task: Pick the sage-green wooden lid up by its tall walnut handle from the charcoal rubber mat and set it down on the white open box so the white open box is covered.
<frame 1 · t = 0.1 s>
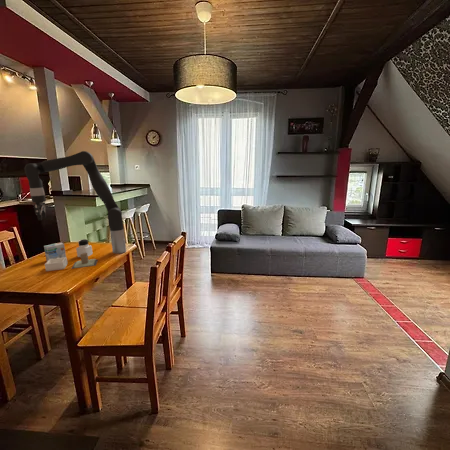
hand: (42, 219, 169), 29 cm above the table, fingers open, 8 cm apart
light bulb box: (56, 259, 177), on the table
medicine bottle: (85, 256, 183), on the table
lid: (85, 263, 166), resting on mat
white open box: (57, 267, 161), on the table
mat: (85, 264, 166), on the table
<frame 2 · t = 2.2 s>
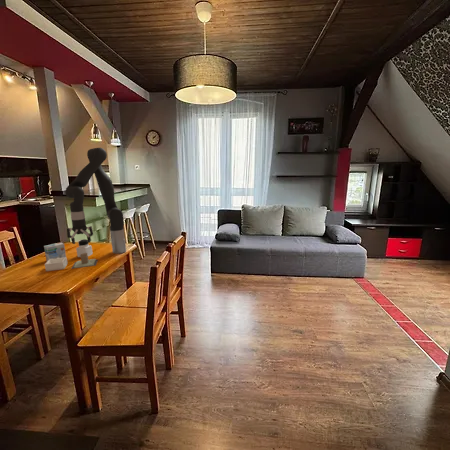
hand: (81, 243, 163), 15 cm above the table, fingers open, 8 cm apart
nothing on the table moved.
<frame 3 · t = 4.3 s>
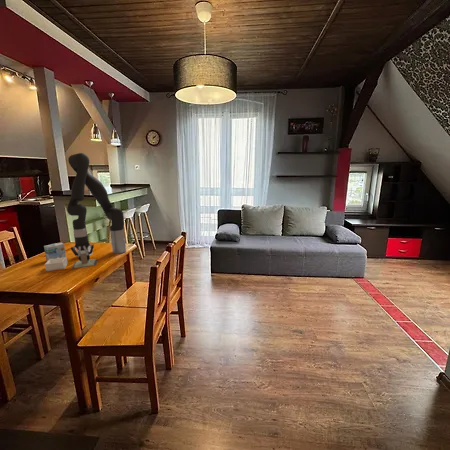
hand: (84, 260, 166), 3 cm above the table, fingers closed on lid, 3 cm apart
lid: (85, 263, 166), resting on mat, touching gripper
everything else where it was.
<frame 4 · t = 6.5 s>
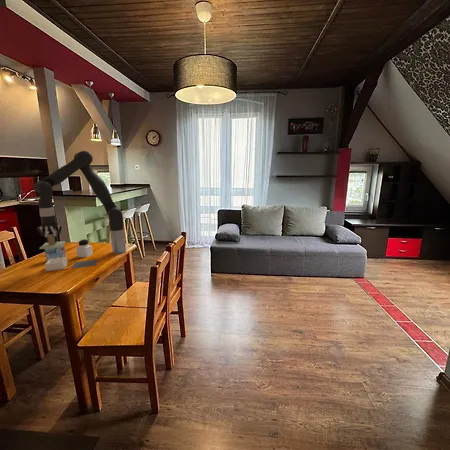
hand: (52, 242, 157), 17 cm above the table, fingers closed on lid, 3 cm apart
lid: (53, 245, 158), point 15 cm above the table, touching gripper
everything else where it was.
when the fingers open (9 cm above the table, at t = 8.7 s): lid drops 1 cm, resting on white open box.
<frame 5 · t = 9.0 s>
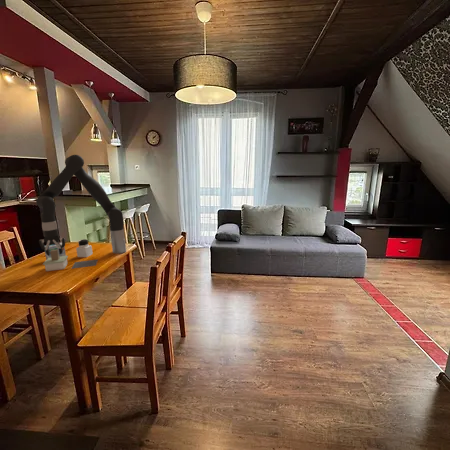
hand: (54, 254, 159), 9 cm above the table, fingers open, 6 cm apart
lid: (56, 260, 160), point 5 cm above the table, touching white open box
everything else where it was.
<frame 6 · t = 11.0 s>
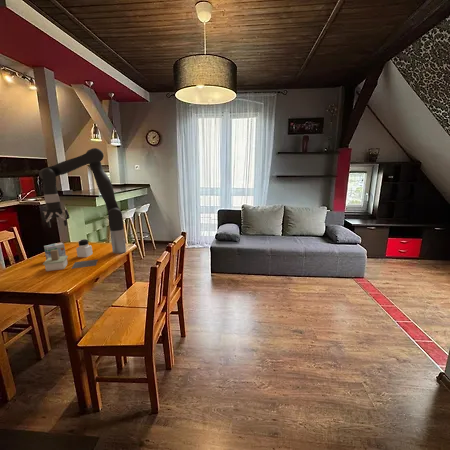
hand: (57, 226, 160), 26 cm above the table, fingers open, 8 cm apart
nothing on the table moved.
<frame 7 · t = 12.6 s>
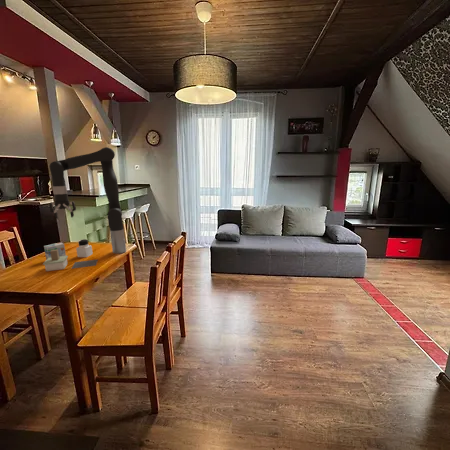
hand: (64, 217, 166), 30 cm above the table, fingers open, 8 cm apart
nothing on the table moved.
at the end: lid 0.1 cm off-centre on the white open box, point 5.0 cm above the white open box's base; lid tilted 0°; the gripper is holding nothing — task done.
